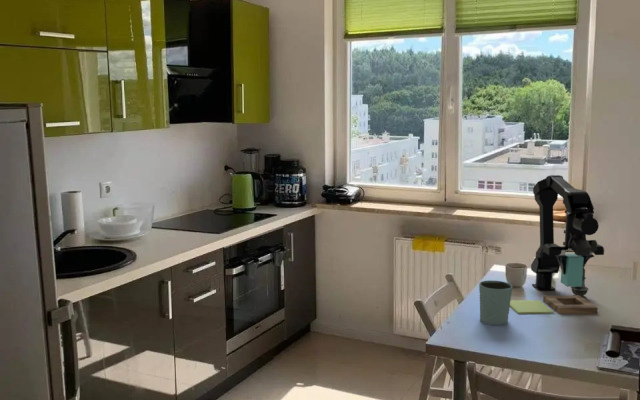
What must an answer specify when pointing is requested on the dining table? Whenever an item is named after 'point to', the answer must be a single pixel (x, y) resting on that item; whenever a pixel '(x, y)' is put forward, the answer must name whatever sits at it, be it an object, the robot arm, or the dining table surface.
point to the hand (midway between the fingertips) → (571, 274)
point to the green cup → (494, 302)
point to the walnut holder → (580, 306)
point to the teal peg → (573, 271)
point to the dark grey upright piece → (581, 287)
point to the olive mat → (529, 307)
